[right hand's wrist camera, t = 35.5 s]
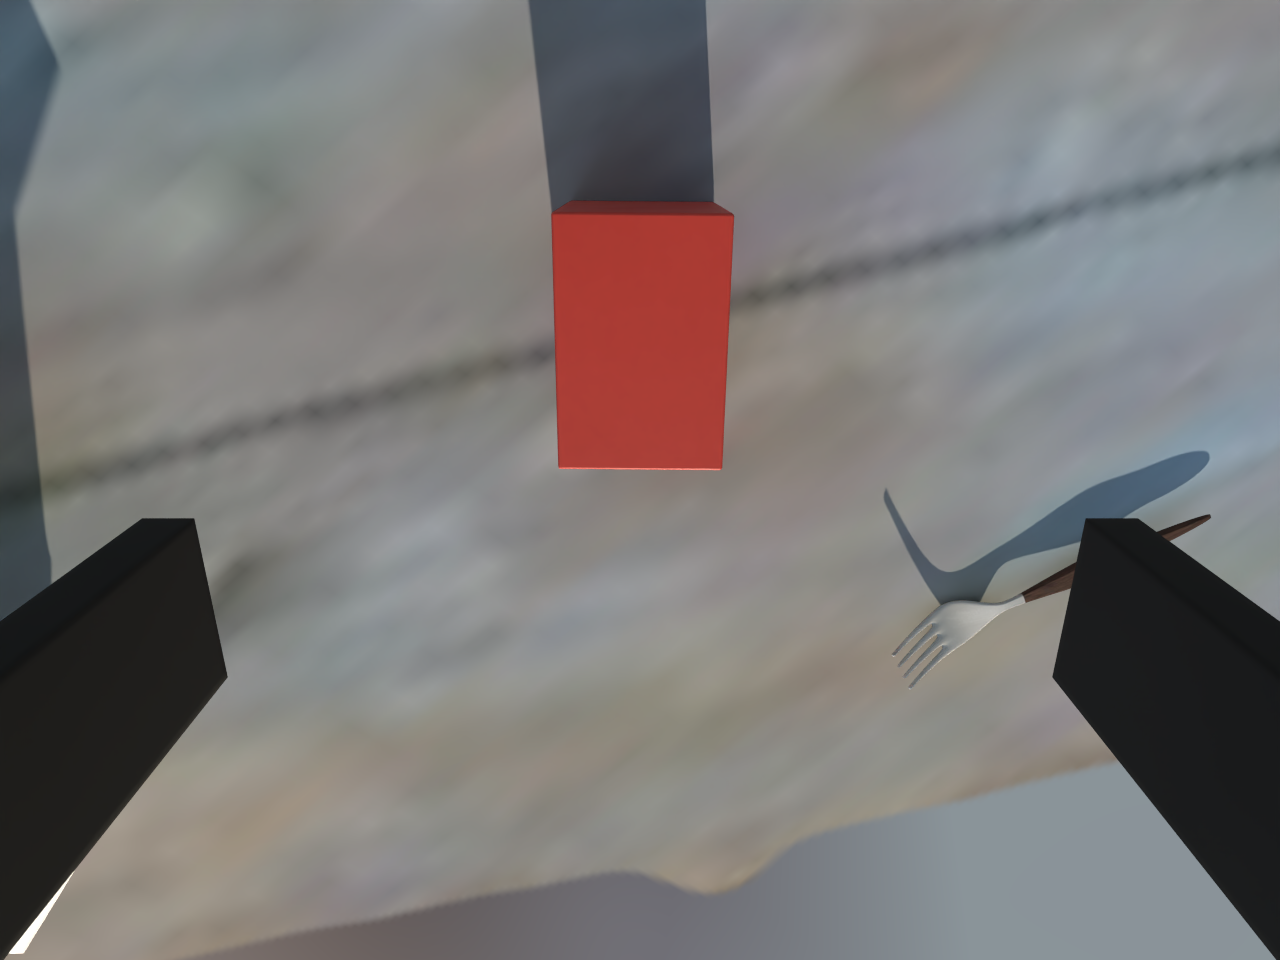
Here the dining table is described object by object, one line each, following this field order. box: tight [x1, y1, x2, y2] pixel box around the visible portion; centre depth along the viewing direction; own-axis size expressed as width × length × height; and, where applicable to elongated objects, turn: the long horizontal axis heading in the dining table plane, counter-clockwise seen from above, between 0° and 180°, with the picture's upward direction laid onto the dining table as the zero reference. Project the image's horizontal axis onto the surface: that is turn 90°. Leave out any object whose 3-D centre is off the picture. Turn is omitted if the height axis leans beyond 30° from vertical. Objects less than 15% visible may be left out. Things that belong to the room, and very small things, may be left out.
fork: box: [892, 514, 1211, 689], centre depth 40 cm, size 3×16×2 cm, turn 118°
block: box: [551, 201, 734, 470], centre depth 33 cm, size 9×6×8 cm, turn 179°
